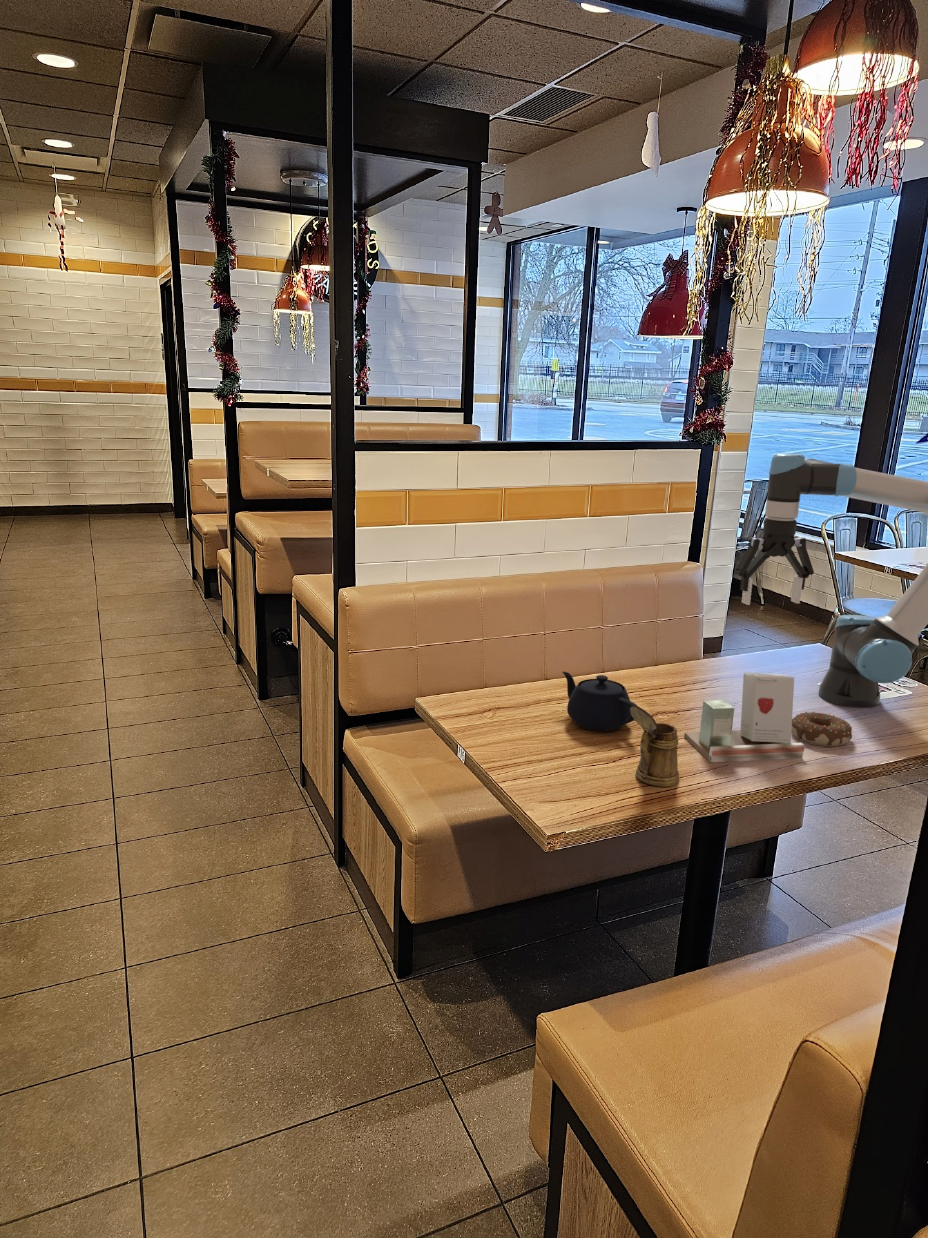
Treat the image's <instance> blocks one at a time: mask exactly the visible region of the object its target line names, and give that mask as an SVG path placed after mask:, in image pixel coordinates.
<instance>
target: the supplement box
mask: <svg viewBox="0 0 928 1238" xmlns="http://www.w3.org/2000/svg"><path fill="white" fill-rule="evenodd" d="M742 680H743V682H742V695H741V696H742V697H741V698H742V699H741V713H740V714H741V717H740V729H739V730H740V735H741V736H743V737H745V738H747V739H749V740H751V741H758V742H778V743H792V731H791V730H792V719H793V706H794V691H795V690H794V689H795V677H793V676H789V675H785V674H780V673H762V672H761V673H760V672H743V679H742Z"/></svg>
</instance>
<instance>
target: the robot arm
mask: <svg viewBox="0 0 928 1238" xmlns="http://www.w3.org/2000/svg"><path fill="white" fill-rule="evenodd" d="M768 474H769V477H768V486H767V497H766V505H765V512H764V515H765V519H764V520H763V527H762V532H763V535H762V538H758V537H757V538H756V537H751V538H750V540H749V543H748V547H747V549H746V550H745V552H744V554H743V556H742V557H741V559H740V561H739V563H738V564H737V566H736V568H735V570H734V574H735V575H737V576H739V577H740V578H741V579H740V587H739V588H740V591H742V594H741V595H742V596H741V604H745V605H747V606H750V605H751V597H752V589H753V581H754V580H753V578H751V577H752V576H753V575H754V574H755V572H756V571H757V570H758V569H759V568H760V567H761V566H762V565H763V564H764V563H765V561H766V560H768V559H769V558H770V557H774V558H775V557H785V558H786V560H787V561H788V563H789V565H790V566H791V567H792V569H793V570H794V572H795V573H796V575H793V582H792V587H791V588H792V589H791V595H790V602H792V603H794V604H801V595H802V591H803V590H804V589H805V585H806V579H808V578H809V576H812V575H814V574H815V571H814V567H813V565H812V561H811V558H810V556H809V553H808V550H807V539H806V538H805V537H801V536H797V537H795V535H796V533H797V524H798V522H797V518H798V517H799V510H800V501H801V495H805V496H807V495H812V496H813V495H815V496H816V495H817V496H835V497H839V496H841V497H845V498H849V499H855V500H860V501H865V502H871V503H876V504H881V505H885V506H890V507H895V508H901V509H903V510H904V509H906V510H910V511H915V512H920V513H924V514H925V515H926V517H928V481H927V480H926V481H925V480H919V479H917V478H916V479H915V478H911V477H906V476H901V475H895V474H889V473H884V472H880V471H874V470H869V469H863V468H859V467H855V466H854V465H853V464H848V463H834V462H828V461H824V460H819V459H815V458H806V457H805V455H804V454H800V453H782V452H781V453H776V454H774V455H773V456H772V458H771V461H770V468H769V472H768ZM761 546H762V548H761ZM794 546H795V547H796V551H797V554H798V558H799V560H798V558H797V556H796V554H795V551H794V550H793V549H792V548H793V547H794ZM759 548H761V549H760V550H759ZM758 550H759V551H758ZM756 554H757V555H756ZM927 625H928V563H927V564H926V565H925V566H924V568H923V569H922V570H921V572H920V573H919V574H918V575H917V577H916V578H915V579H914V580H913V581H912V583H911V584H910V585H909V586H908V588H907V589H906V590H905V591H904V593H903V594H902V595H901V597H900V598H899V599H898V600H897V601H896V603H895V604H894V605H893V607H892V608H890V610H889V611H888V612H887V614H886V615H883V616H878V617H876V616H871V615H870V616H869V615H859V614H843V615H840V616H838V617H837V620H836V623H835V626H834V634H833V641H832V647H831V653H830V654H831V655H830V662H829V667H828V669H827V671H826V673H825V674H824V677H823V679H822V682H821V683H820V684H819V687H818V695H819V697H820V698H822V699H823V700H825V701H827V702H829V703H832V704H836V705H839V706H845V707H850V708H859V709H861V708H862V709H863V708H864V709H867V708H868V709H869V708H874V707H877V706H879V705H880V702H881V701H880V699H881V692H880V685H879V684H889V683H890V684H891V683H894V682H896V681H899V680H900V679H902V678H904V677H905V676H907V674H908V673H909V671H910V670H911V667H912V666H913V665H912V664H913V660H912V659H913V657H912V656H913V655H912V654H914V653H915V650H916V649H917V648H919V645H920V643H919V635H920V634H921V633H922V631H923V630H924V629H925V628H926V626H927Z"/></svg>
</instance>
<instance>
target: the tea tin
mask: <svg viewBox="0 0 928 1238" xmlns="http://www.w3.org/2000/svg"><path fill="white" fill-rule="evenodd" d="M734 716H735V707H734V706H733V705H732V704H730V703H728V701H726V700H724V699H718V700H717V699H716V700H715V699H714V700H711V699H710V700H703V701H702V711H701V720H700V729H699V732H700V736H699V742H700V743H701V744H702V745H703V746H704V747H705V748H706V749H707V750H708V751H710V747H715V746H730V741H731V733H732V731H733V725H734V724H733V723H734Z"/></svg>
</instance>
